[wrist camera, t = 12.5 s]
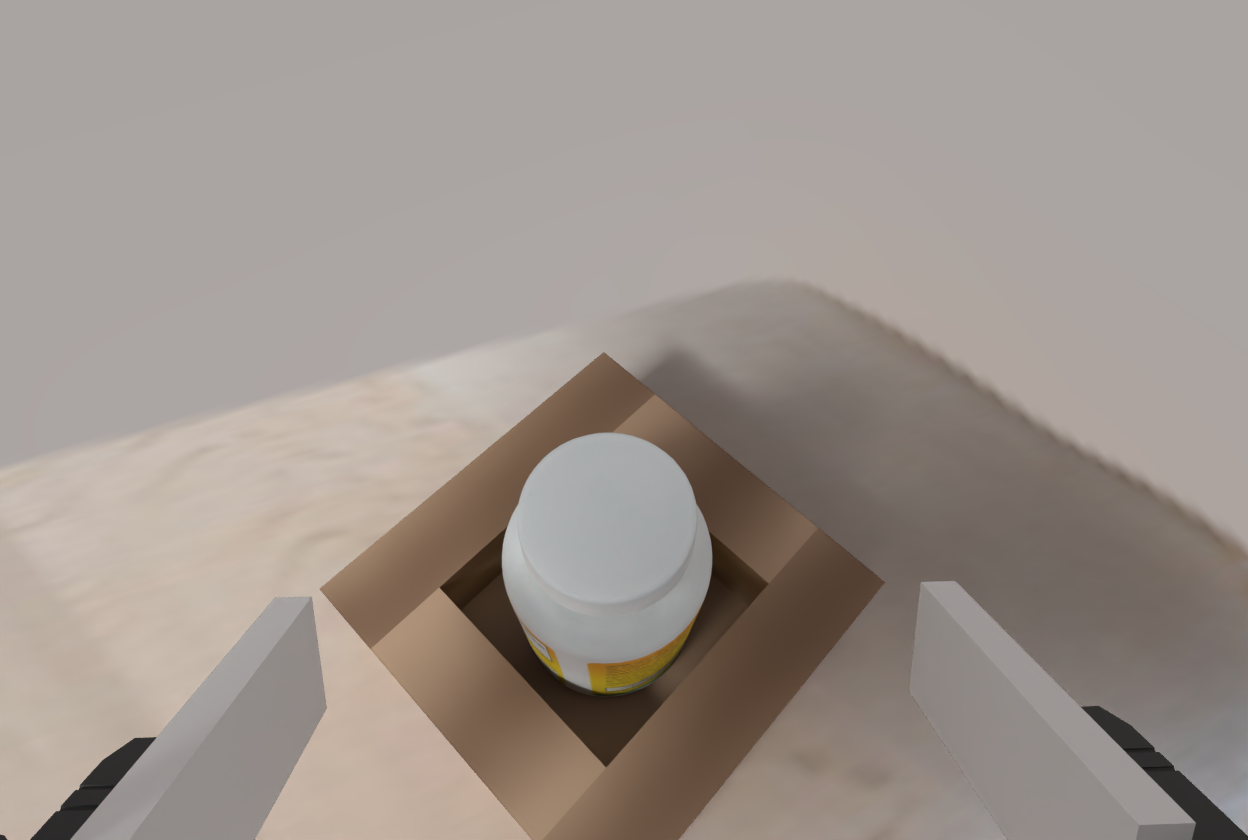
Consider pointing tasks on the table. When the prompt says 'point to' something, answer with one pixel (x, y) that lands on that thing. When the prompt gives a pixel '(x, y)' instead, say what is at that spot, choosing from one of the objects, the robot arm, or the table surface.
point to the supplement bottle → (607, 563)
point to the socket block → (569, 720)
